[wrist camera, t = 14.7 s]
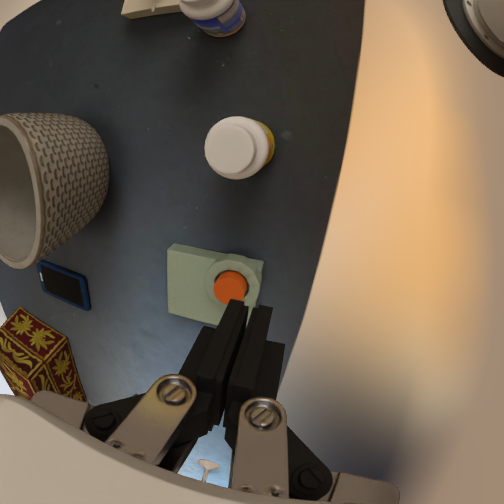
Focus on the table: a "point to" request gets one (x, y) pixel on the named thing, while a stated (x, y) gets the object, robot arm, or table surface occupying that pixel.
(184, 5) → the pill bottle
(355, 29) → the table surface
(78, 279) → the cell phone
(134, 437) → the robot arm
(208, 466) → the champagne flute
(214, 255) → the block
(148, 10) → the dial panel
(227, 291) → the button
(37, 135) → the planter
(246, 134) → the supplement bottle
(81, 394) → the decorative box
